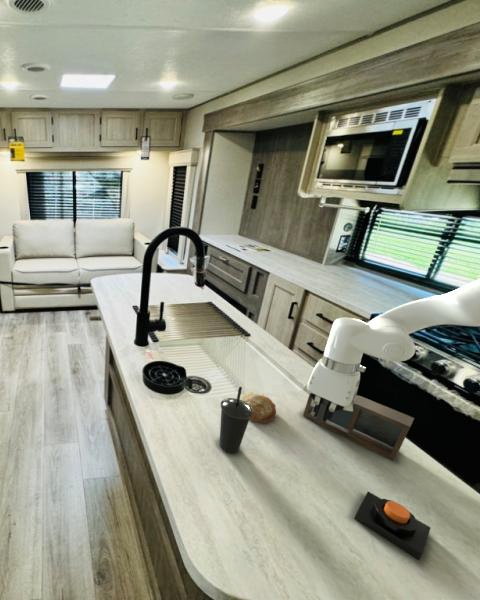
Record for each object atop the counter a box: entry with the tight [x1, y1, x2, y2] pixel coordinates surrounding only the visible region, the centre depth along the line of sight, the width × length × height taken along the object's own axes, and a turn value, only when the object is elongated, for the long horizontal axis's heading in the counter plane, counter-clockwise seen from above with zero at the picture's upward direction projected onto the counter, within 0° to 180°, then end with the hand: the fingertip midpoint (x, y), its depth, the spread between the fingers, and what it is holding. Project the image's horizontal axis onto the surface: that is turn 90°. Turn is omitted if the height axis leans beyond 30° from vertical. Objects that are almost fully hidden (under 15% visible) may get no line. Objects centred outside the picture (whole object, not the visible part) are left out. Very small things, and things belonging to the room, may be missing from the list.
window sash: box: [316, 398, 361, 432], centre depth 89 cm, size 9×7×8 cm
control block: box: [353, 491, 432, 561], centre depth 65 cm, size 10×8×4 cm
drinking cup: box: [219, 386, 253, 455], centre depth 83 cm, size 8×8×20 cm
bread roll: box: [240, 392, 277, 424], centre depth 98 cm, size 10×10×8 cm
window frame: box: [302, 394, 415, 462], centre depth 88 cm, size 21×5×12 cm, turn 36°
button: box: [384, 500, 411, 524], centre depth 65 cm, size 4×4×2 cm
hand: (321, 416), depth 90 cm, fingers closed
